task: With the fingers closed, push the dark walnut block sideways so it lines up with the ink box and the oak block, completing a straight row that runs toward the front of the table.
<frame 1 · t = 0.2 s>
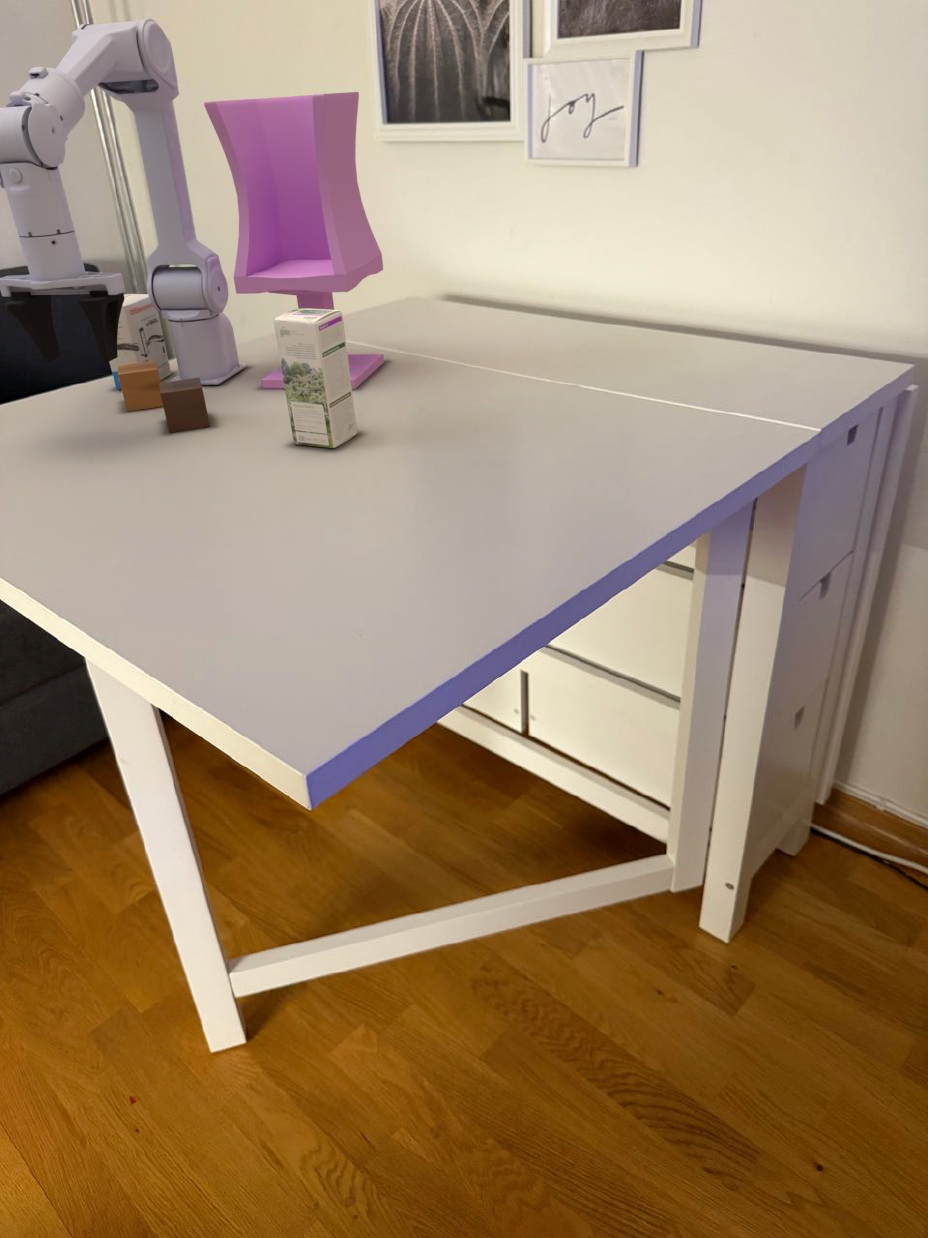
hand: (81, 359, 104), 10 cm above the table, tool pointing down, fingers open, 7 cm apart
syrup box: (326, 441, 106), on the table
purple pedestal chair: (325, 375, 130), on the table
oak block: (146, 403, 123), on the table
ink box: (144, 382, 133), on the table
walnut block: (188, 423, 114), on the table
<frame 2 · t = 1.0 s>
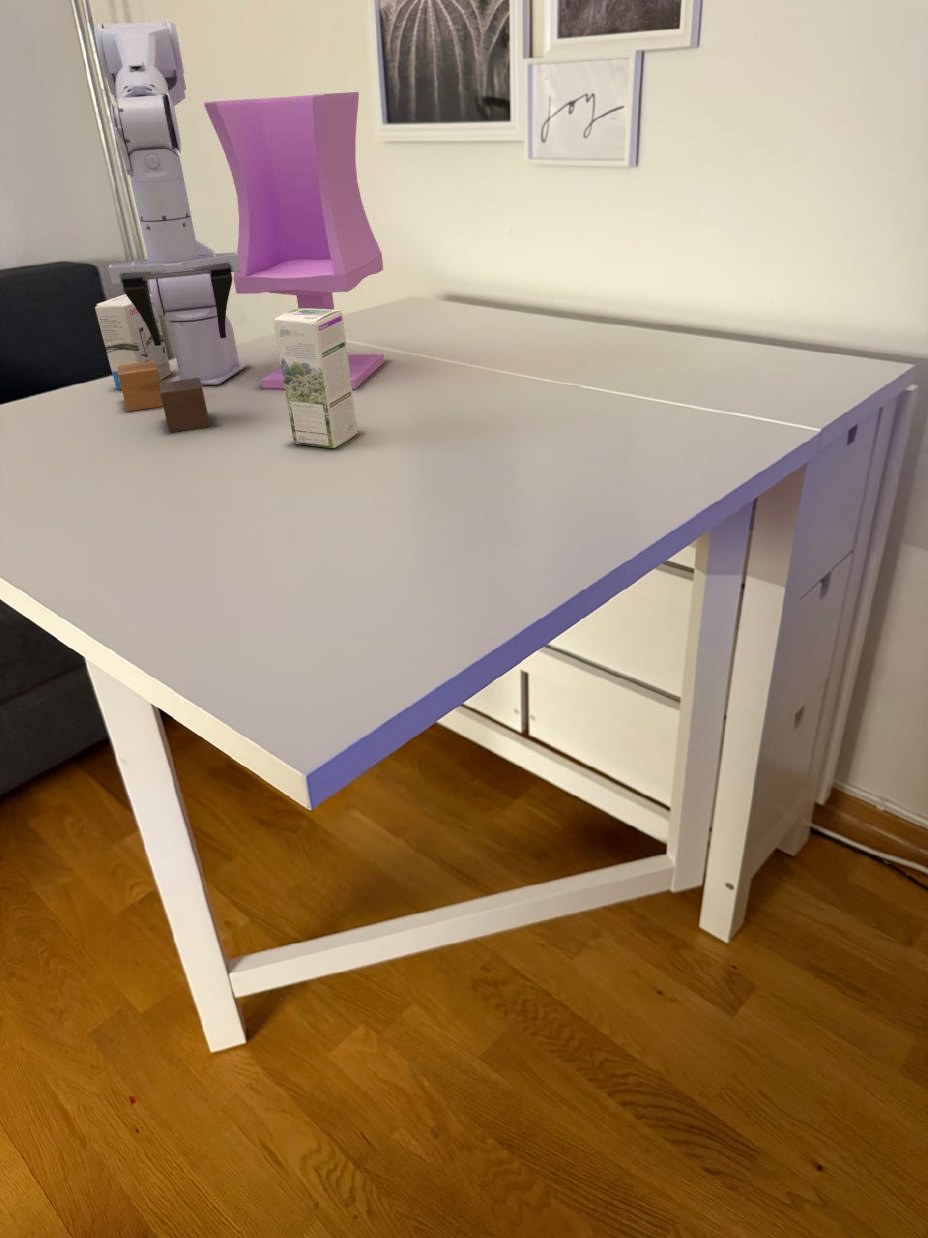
hand: (190, 339, 109), 10 cm above the table, tool pointing down, fingers open, 7 cm apart
nothing on the table moved.
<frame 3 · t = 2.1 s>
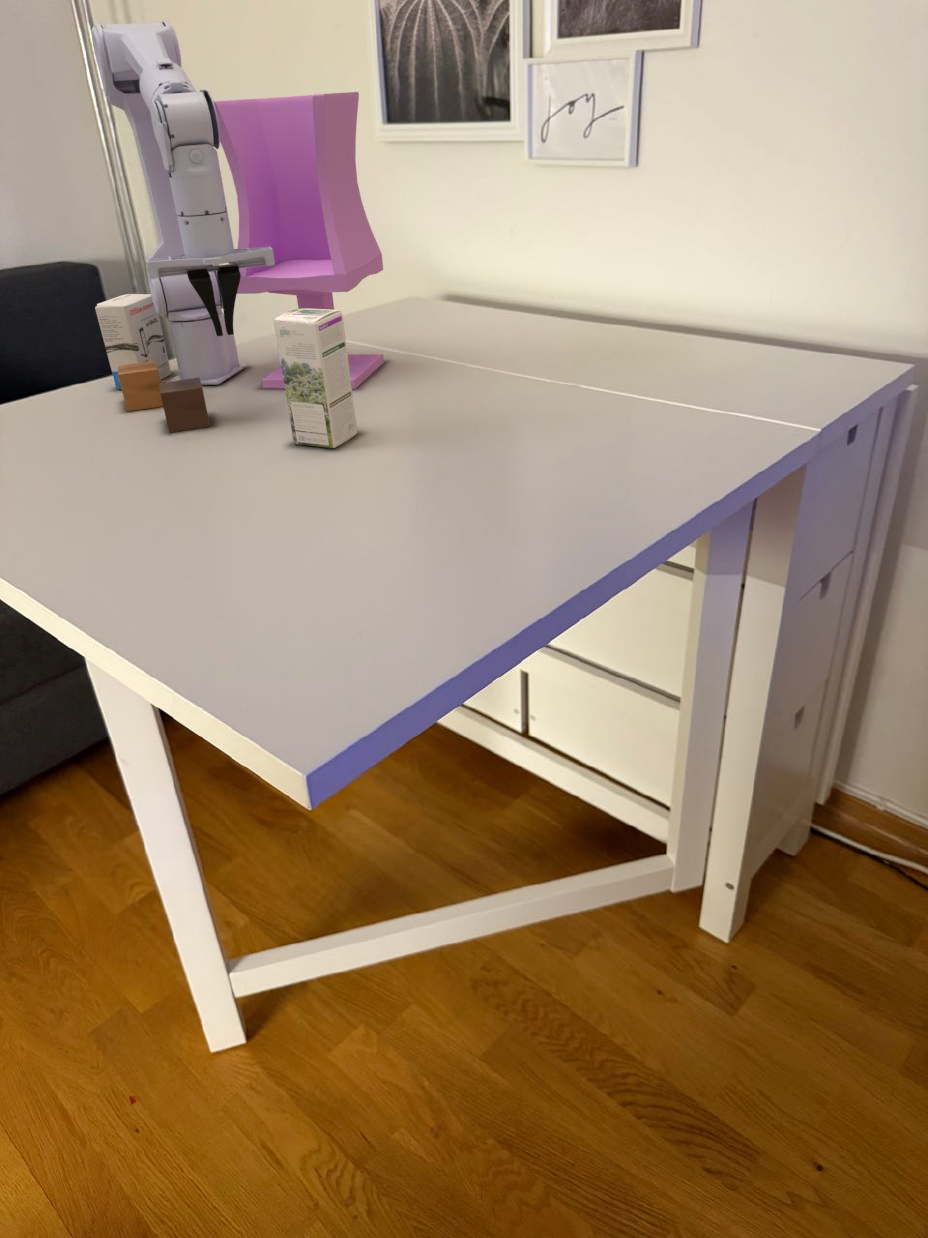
hand: (224, 333, 110), 10 cm above the table, tool pointing down, fingers closed
nothing on the table moved.
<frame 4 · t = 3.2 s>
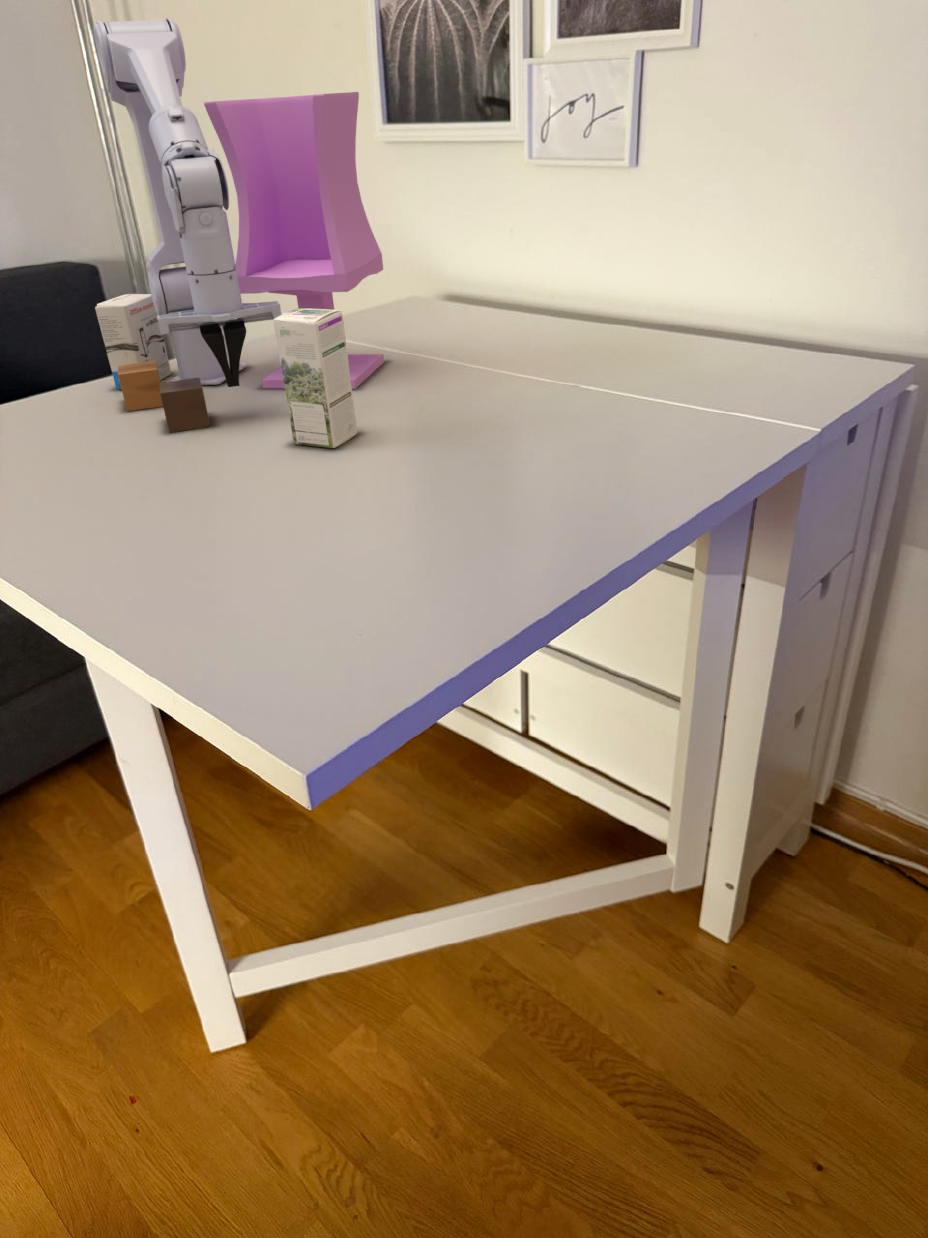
hand: (233, 384, 113), 4 cm above the table, tool pointing down, fingers closed
nothing on the table moved.
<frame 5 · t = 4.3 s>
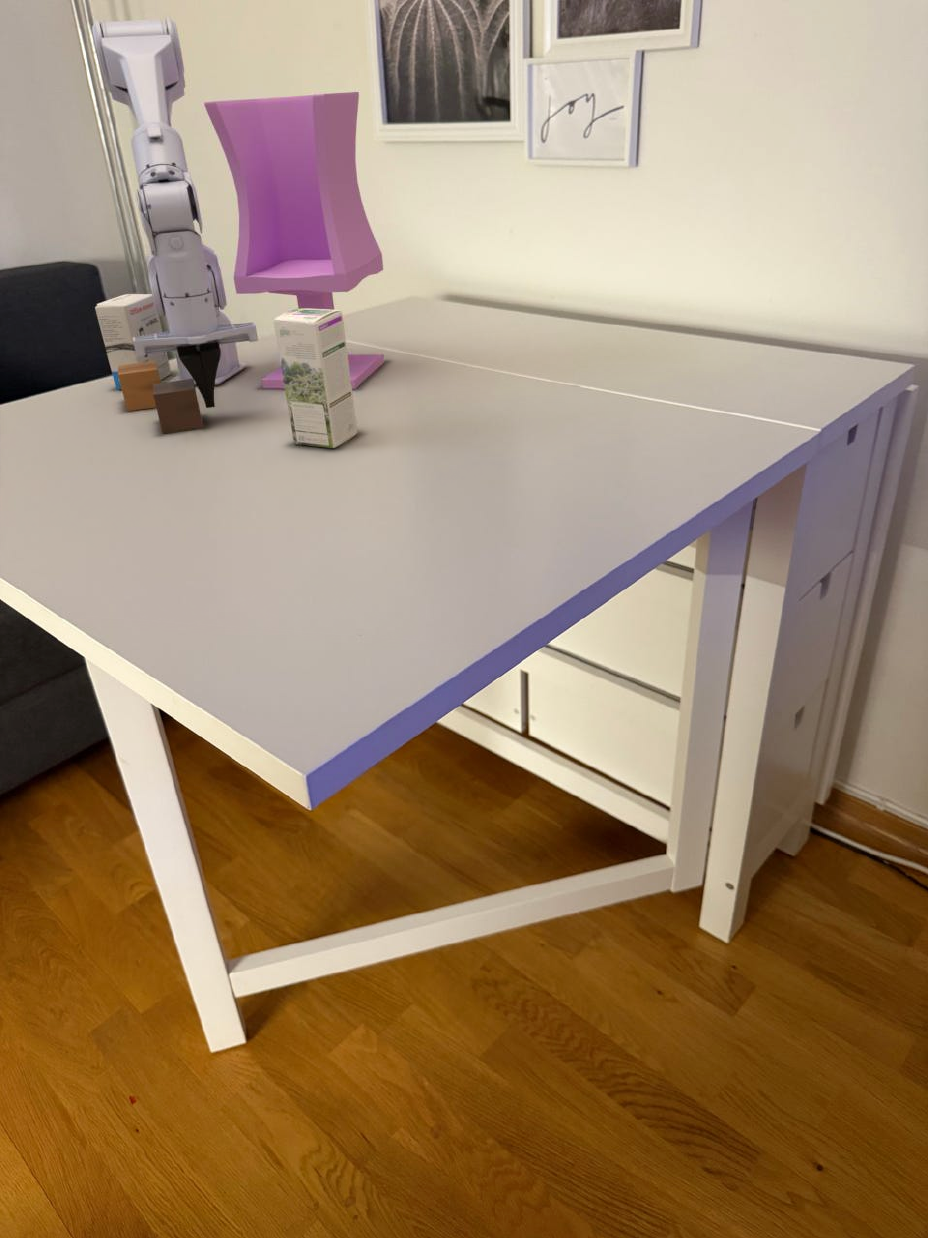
hand: (210, 405, 114), 2 cm above the table, tool pointing down, fingers closed
walnut block: (182, 425, 114), on the table, touching gripper
everything else where it was.
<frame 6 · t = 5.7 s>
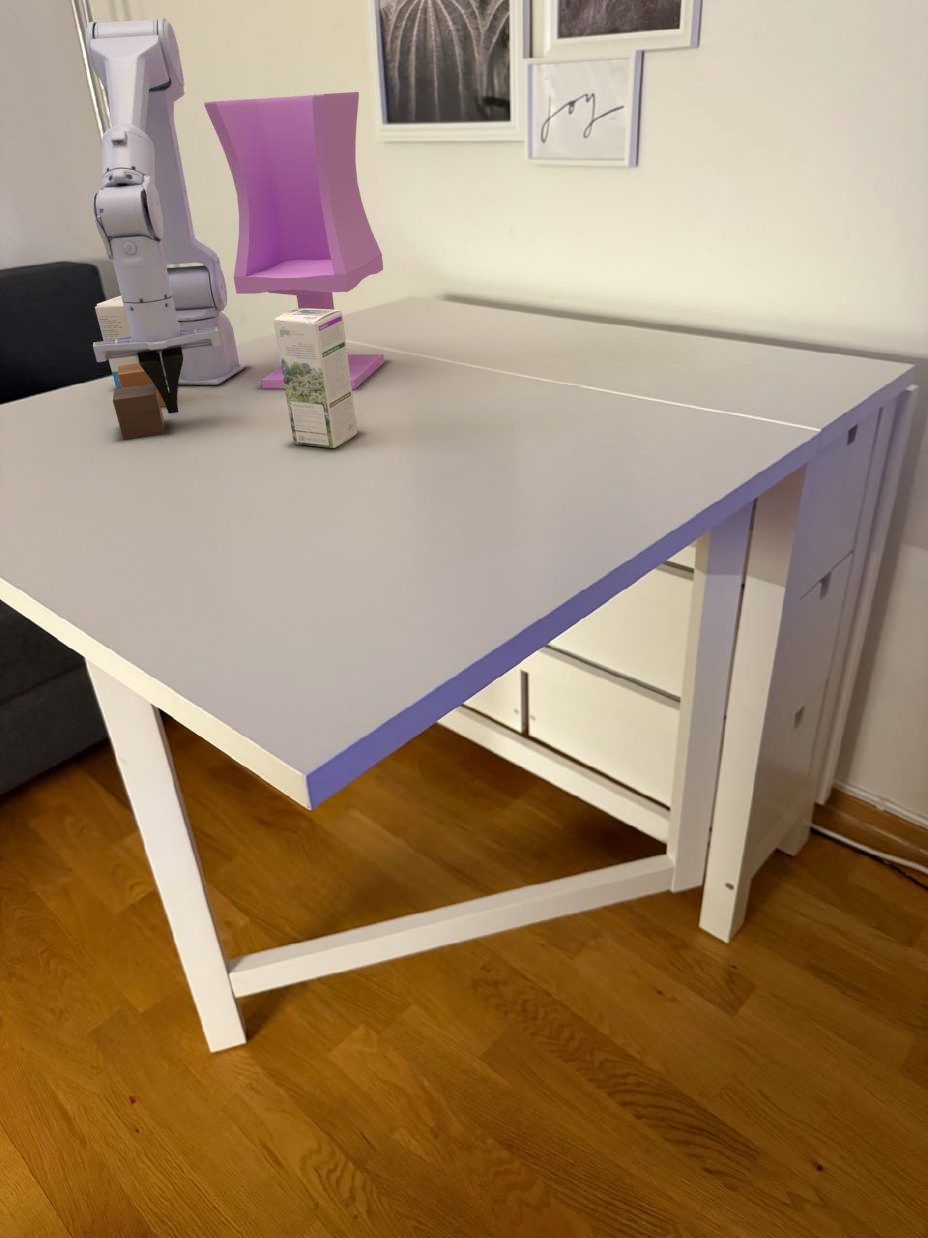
hand: (173, 411, 113), 2 cm above the table, tool pointing down, fingers closed
walnut block: (144, 430, 113), on the table, touching gripper
everything else where it was.
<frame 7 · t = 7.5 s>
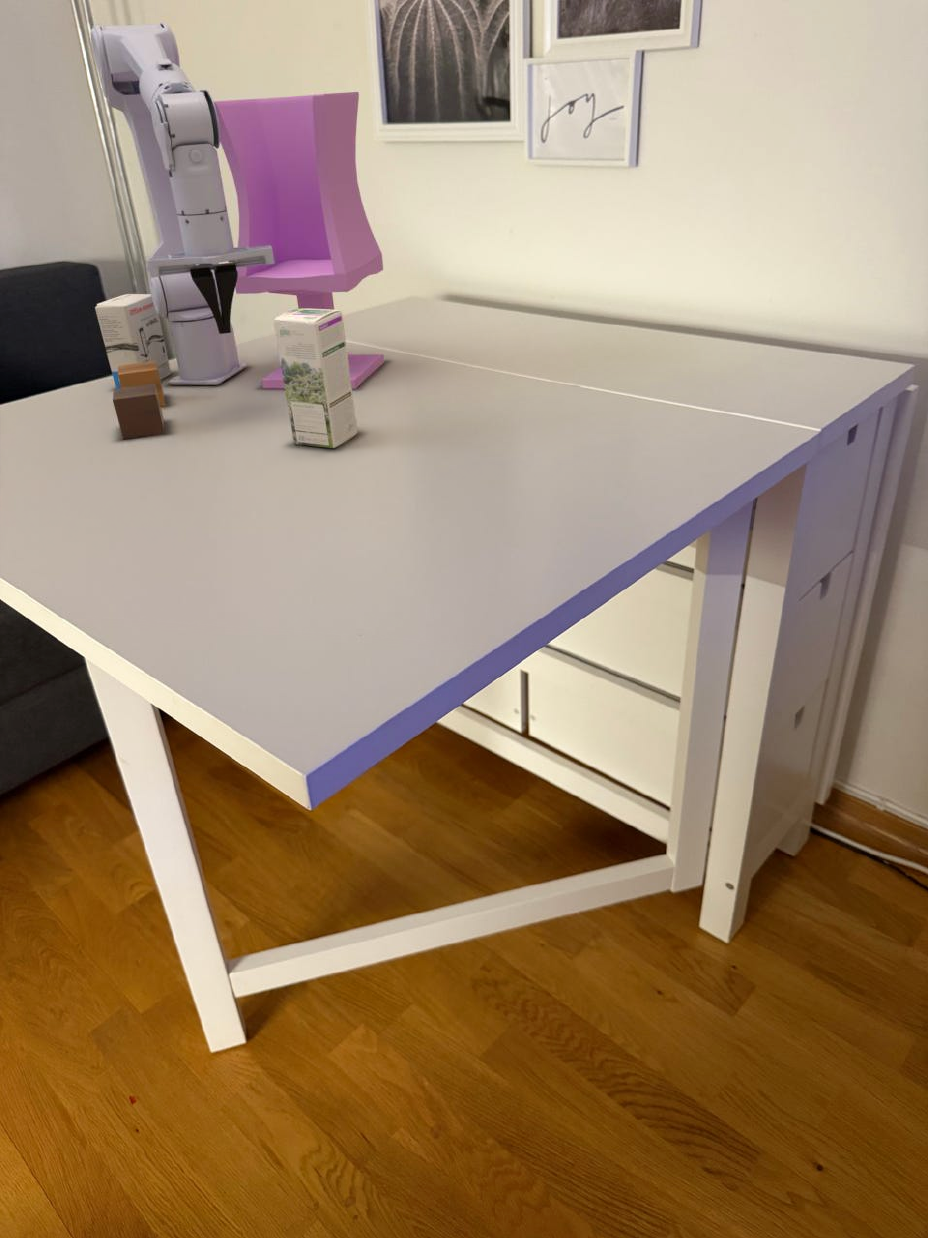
hand: (224, 331, 111), 10 cm above the table, tool pointing down, fingers closed
walnut block: (144, 430, 113), on the table
everything else where it was.
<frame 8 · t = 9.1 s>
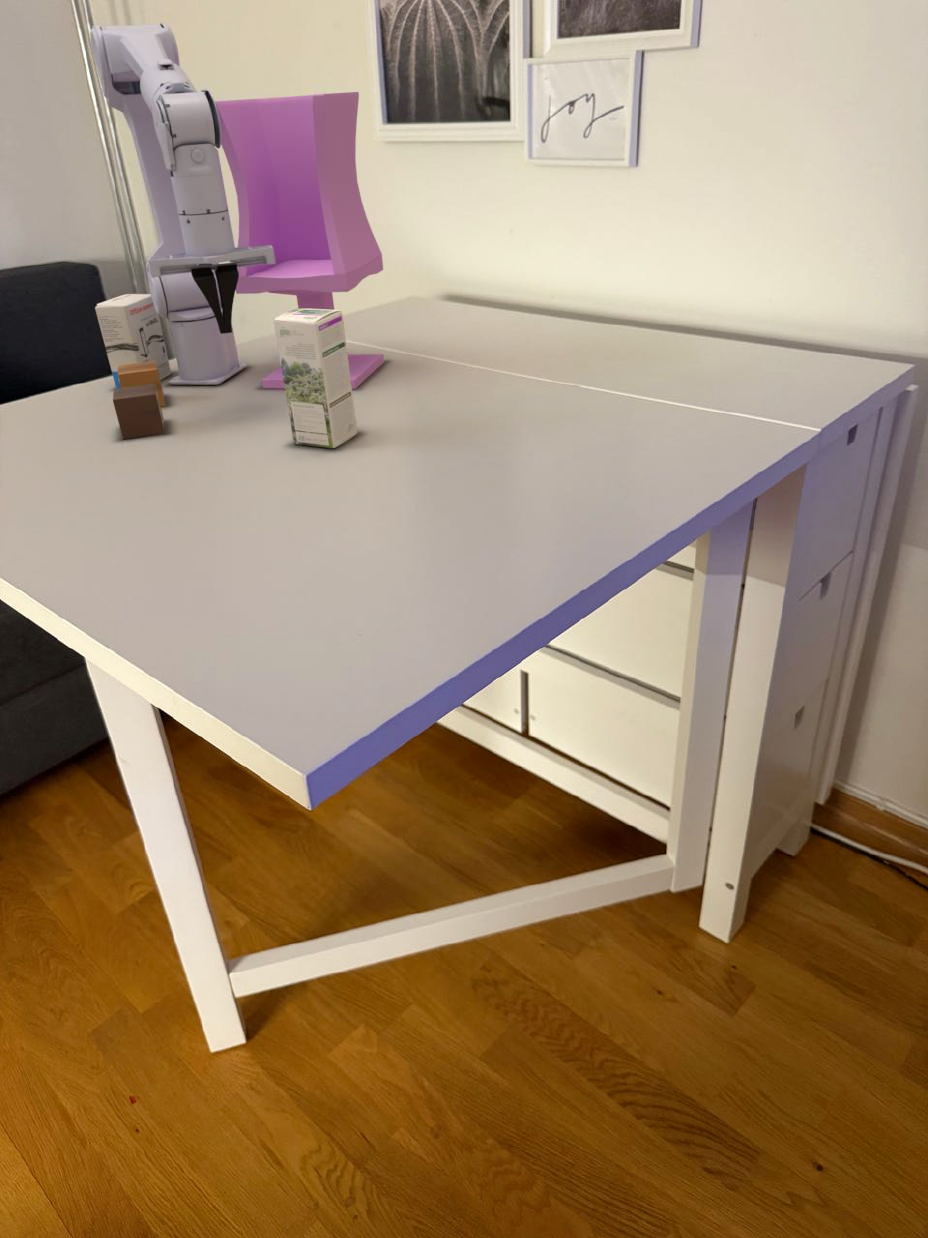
hand: (225, 331, 111), 10 cm above the table, tool pointing down, fingers closed
nothing on the table moved.
at the end: walnut block 0.4 cm from the target spot on the table beside the ink box, on the table; oak block moved 0.0 cm from its start; ink box moved 0.2 cm from its start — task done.
